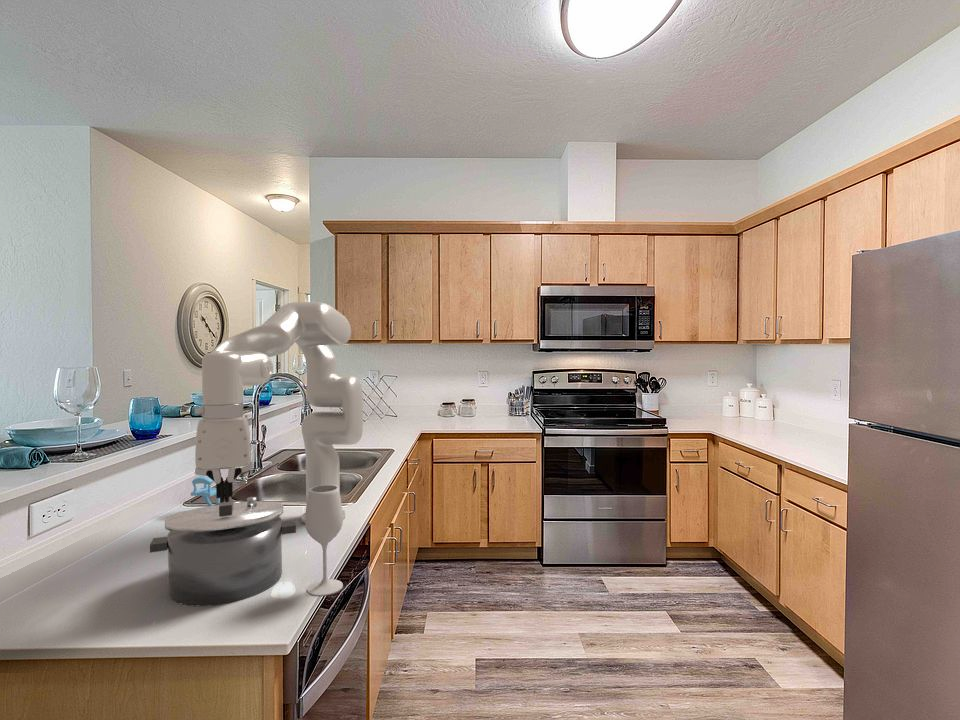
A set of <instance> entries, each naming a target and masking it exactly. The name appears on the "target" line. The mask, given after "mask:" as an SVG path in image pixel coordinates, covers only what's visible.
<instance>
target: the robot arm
mask: <svg viewBox="0 0 960 720" xmlns="http://www.w3.org/2000/svg"><path fill="white" fill-rule="evenodd" d="M351 327H352V326H351V324H350V322H349V320H348V319H347V317H346V316H345V315H344V314H342V313H341V312H340V311H339V310H337V309H335V308H334V307H333V306H331V305H330V304H328V303H324V302H321V301H297V302H295V301H294V302H293V301H292V302H288V303H285V304H283V305H282V306H281V307H279V308H278V310H277V311H275V312H274V313H273V314H272V315H271V316H270V317H269V318H268V319H267V320H265V321H264V322H263V323H262V324H261V325H258V326H256V327H253V328H250V329H248V330H245V331H242V332H240V333H238V334H235V335H232V336H231V337H228V338H226V339H225V340H223V341H222V342H220V343H219V344H218V345H217V346H216V347H214V349H212V350H211V351H210V352H209V353H206V354H204V355H203V357H202V360H201V381H202V382H201V384H202V391H201V392H202V405H201V406H199V407H195V408H194V415H195V416H197V415H198V416H201V417H202V419H200V420H198V423H197V427H196V435H195V436H196V437H195V455H194V456H195V457H194V459H195V460H194V462H195V471H194V474H195V475H196V476H204V477H208V478H210V479H212V480H213V481H214V482H213V483H215V484H216V485H215V488H216V495H215V496H216V499H217V498H220V503H223V502H224V500H225V502H229V500H230V498H231V497H233V495H234V493H233V491H234V489H233V488H234V487H233V482H234V481H235V479H236V478H238V476H239V475H240V474H242V473H245V472H248V471H252V470H253V464H252V460H251V459H252V447H251V446H252V445H251V432H250V426H249V421H248V418H247V417H246V416H245V417H244V388H243V387H244V386H249V387H251V386H260V385H263V384H265V383H267V382H268V381H269V380H270V379H271V377H272V376H273V373H274V364H273V361H272V359H271V358H273V357H275V356H279V355H282V354H284V353H286V352H288V351H289V349H290V348H291V347H292V346H294V345H293V344H296V345H297V346H298V347H299V349H300V350H301V352H302V354H303V356H304V360H305V366H306V368H305V370H306V372H305V373H306V374H305V376H306V380H305V381H306V399H307V402H308V403H309V405H310V406H312V407H316V408H340V409H342V410H343V411H314V412H311V413H308V414H307V415H305V417H304V418H303V420H302V422H301V435H302V438H303V445H304V451H305V486H306V487H305V489H306V491H305V494H306V496H305V497H306V502H305V503H306V504H307V498H308V492H309V489H310V488H312V487H315V486H320V485H335V486H337V487H338V488H339V492H340V493H341V491H340V489H341V487H340V486H341V485H340V483H341V482H340V478H341V477H340V457H339V453H338V452H337V450H336V449H335V448H336V447H334V446H333V445H337V446H338V445H340V446H344V445H345V446H349V445H350V446H353V445H356V444H358V443H359V442H360V441H361V439H362V437H363V433H364V427H363V426H364V424H363V423H364V421H363V420H364V418H363V417H364V414H363V413H364V411H363V410H364V409H363V406H364V405H363V404H364V403H363V388H362V384H361V382H360V380H359V378H357V376H354V375H350V374H348V375H347V374H338V373H337V357H336V355H335V353H334V352H333V350H332V349H331V346H332V347H333V346H335V347H340V346H343V345H346V344H347V343H348V342H349V341H350V338H351V335H352V328H351ZM227 469H228V471H227V476H226V478H225V480H224V478H223V477H222V472H221V470H227ZM342 511H343V519H344V518H346V512H345V510H344V509H342ZM305 513H306V512H304V513H302V514H301V516H300V520H301V522H302V523H303V524H305Z"/></svg>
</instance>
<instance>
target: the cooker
mask: <svg viewBox="0 0 960 720" xmlns="http://www.w3.org/2000/svg"><path fill="white" fill-rule="evenodd" d="M296 533H297V523H296V520H295V519H293V520H287V521H285V520H283V521H282V518H281V516H279V517H277V518H274V519H271V520H268V521H265V522H261V523H257V524H253V525H248V526H243V527H237V528H231V529H224V530H215V531H204V532H174V531H169V532H168V534H167V536H161V537H153V538H152V540H151V542H150V543H149V553H150V554H151V553H157V552H164V551H165V552H166V551H167V559H168V560H167V563H168V572H167V573H168V596H169V598H170V597H171V598H170V599H171V600H172V601H173V600H174V601H173V602H175V601H176V602H175V603H177V602H178V604H180V603H182V604H181V605H184V604H186V605H185V606H191V605H193V606H194V607H197V606H196V605H202V606H201V607H204V606H203V605H211V606H219V604H220V605H225V603H226V604H229V603H235V602H239V601H242V600H245V599H249V598H251V597H254V596H257V595H259V594H261V593H263V592H265V591H267V590H269V589H270V588H272V587H273V586H275V585H277V583H278V582H279V581H280V579H281V578H282V576H281V575H282V574H283V560H282V559H283V558H282V557H283V555H282V553H283V551H282V549H283V548H282V535H288V534H289V535H290V534H296Z"/></svg>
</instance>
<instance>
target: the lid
mask: <svg viewBox="0 0 960 720" xmlns="http://www.w3.org/2000/svg"><path fill="white" fill-rule="evenodd" d="M257 498H258V497H257V496H250V497H246V501H244V500H235V501H234V498H231V499H230V498H229V502H225V500H224V502H223V503H217V502H216V503H215V504H214V505H213V506H208V505H207V506H204V507H198V508H193V509H188V510H185V511H181V512H177V513H175V514H174V513H173V514H172V515H169V516H168V517H166V518H165V519H164V528H165V530H167V531H169V532H170V531H174V532H204V531H215V530H224V529H231V528H237V527H243V526H248V525H253V524H257V523H261V522H265V521H268V520H271V519H274V518H277V517H281V516H282V515H283V514H284V504H283V503H281V502H276V501H264V500H263V501H260V500H259V501H258V499H257Z"/></svg>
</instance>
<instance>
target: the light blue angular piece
mask: <svg viewBox="0 0 960 720" xmlns="http://www.w3.org/2000/svg"><path fill="white" fill-rule="evenodd" d="M191 483H192V486H193V491H192V492H190V496H192V497H196V496H201V497H202V498H203V500H204V501H205V503H206V505H207V507H208V506H214V505H213V503H212V502H211V501H210V499H209V497H212V496H216V487H211V486H212V484H213V483H215V482H214V481H213V480H212V479H210V478H209V477H208V476H202V475H197V476H196V477H195V478H193V479H192V481H191ZM196 484H197V485H198V484H203V487H201V488H200V489H198V486H197V485H196ZM216 503H220V498H216Z"/></svg>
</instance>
